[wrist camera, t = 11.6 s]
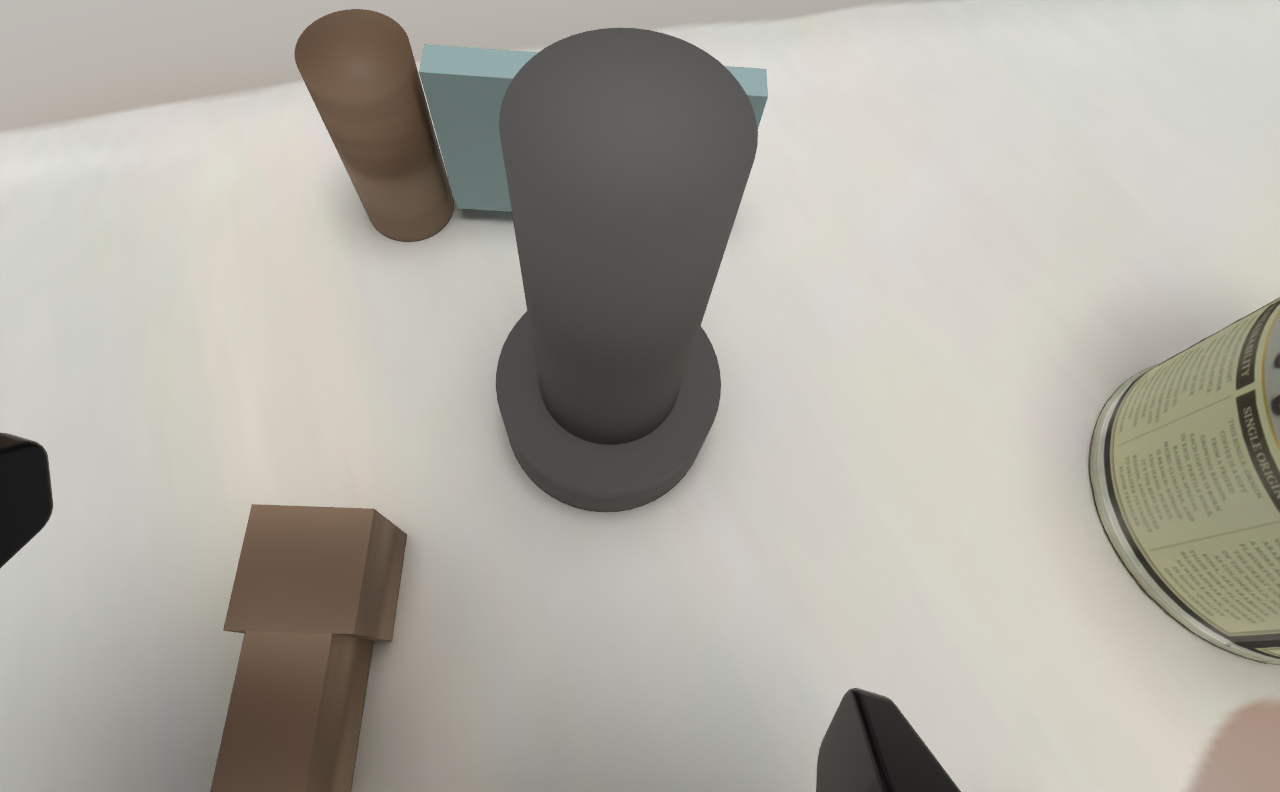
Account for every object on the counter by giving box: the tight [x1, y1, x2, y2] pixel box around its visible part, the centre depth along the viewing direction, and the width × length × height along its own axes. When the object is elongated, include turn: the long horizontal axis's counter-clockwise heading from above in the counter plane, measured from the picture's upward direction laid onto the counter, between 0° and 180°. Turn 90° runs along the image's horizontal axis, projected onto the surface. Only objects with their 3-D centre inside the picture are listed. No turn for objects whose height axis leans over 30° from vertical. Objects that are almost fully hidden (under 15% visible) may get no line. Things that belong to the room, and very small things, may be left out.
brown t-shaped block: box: [211, 9, 454, 792], centre depth 19 cm, size 20×3×7 cm, turn 179°
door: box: [419, 44, 768, 212], centre depth 23 cm, size 10×2×6 cm, turn 89°
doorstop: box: [496, 28, 758, 512], centre depth 17 cm, size 6×6×13 cm
